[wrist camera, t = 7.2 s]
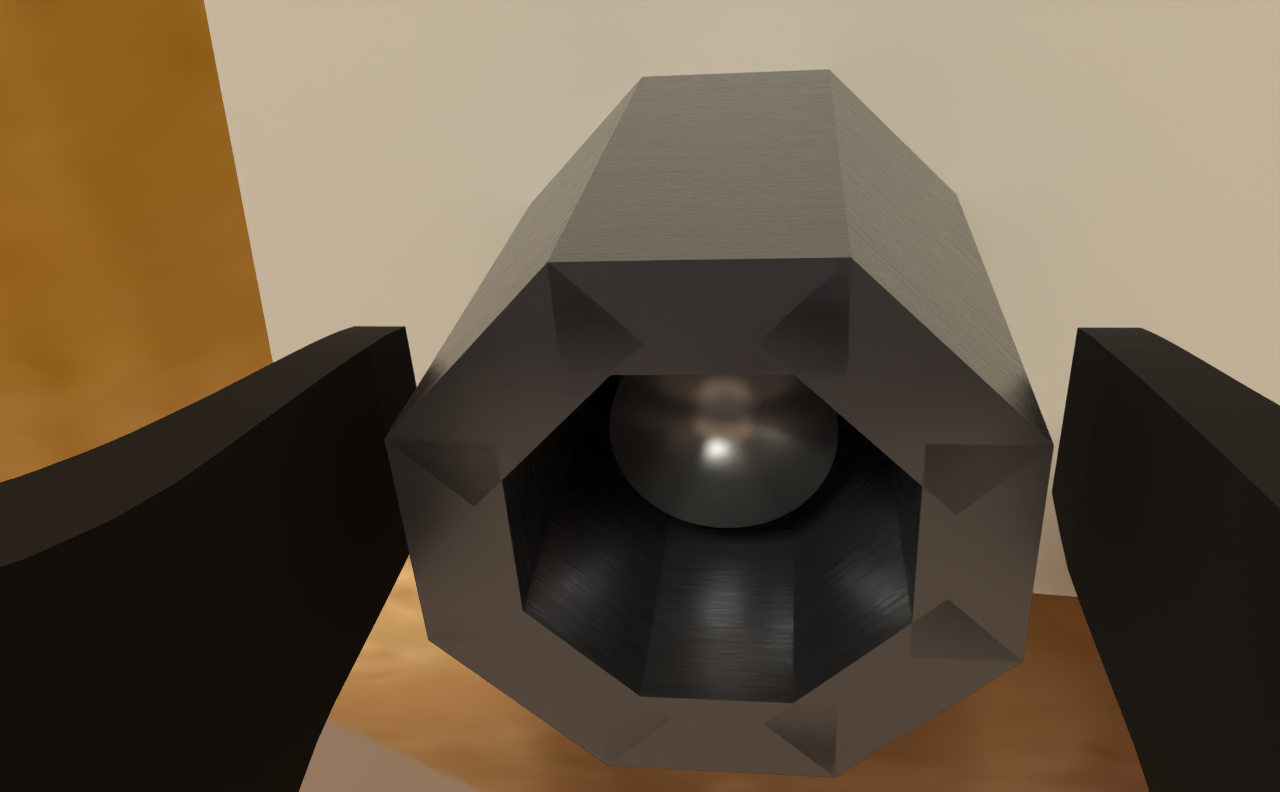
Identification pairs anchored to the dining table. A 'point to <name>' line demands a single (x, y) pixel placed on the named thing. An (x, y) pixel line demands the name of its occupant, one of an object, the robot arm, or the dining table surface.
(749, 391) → the cylinder
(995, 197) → the board
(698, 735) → the gray faceted cup
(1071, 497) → the robot arm
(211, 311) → the dining table surface
